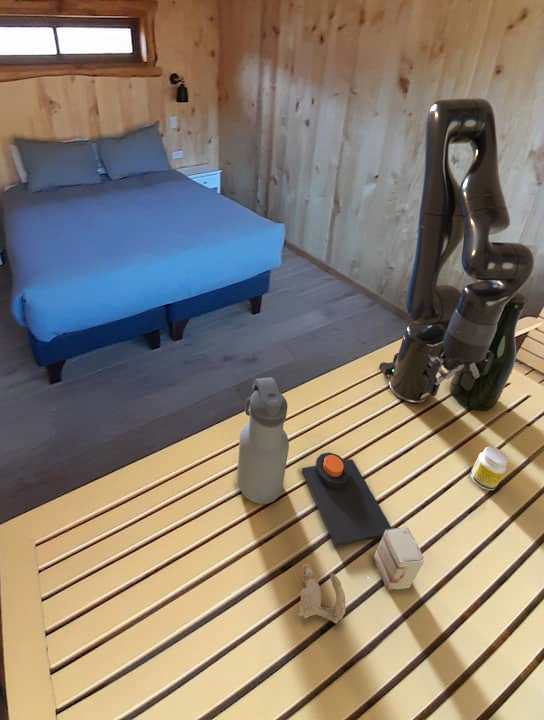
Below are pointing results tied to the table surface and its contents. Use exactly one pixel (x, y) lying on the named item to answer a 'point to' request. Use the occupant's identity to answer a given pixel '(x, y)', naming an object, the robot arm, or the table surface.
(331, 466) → the button
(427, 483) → the table surface
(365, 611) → the table surface
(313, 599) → the beige figurine
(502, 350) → the dark green wine bottle
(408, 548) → the white medicine box
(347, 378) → the table surface
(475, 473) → the supplement bottle
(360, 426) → the table surface
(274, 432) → the water bottle
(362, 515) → the black button panel
